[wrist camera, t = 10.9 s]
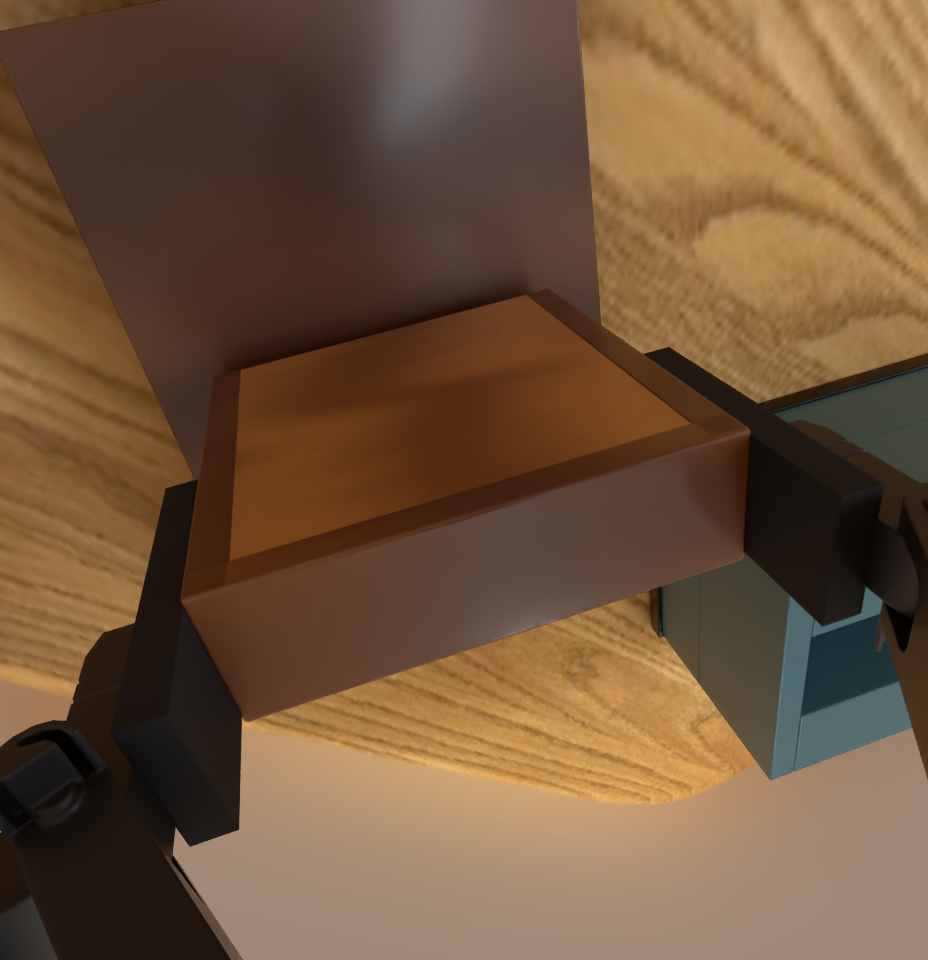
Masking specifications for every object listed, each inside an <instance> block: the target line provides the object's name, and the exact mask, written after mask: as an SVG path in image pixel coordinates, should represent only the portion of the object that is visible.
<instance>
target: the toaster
mask: <svg viewBox="0 0 928 960" xmlns="http://www.w3.org/2000/svg"><path fill="white" fill-rule="evenodd" d="M759 405H761V406H762V407H764V408H766V409H767V410H769V411H770V412H772V413H773V414H775V415H777V416H778V417H780V418H781V419H783V420H784V421H786V422H788V423H790V422H793V421H796V420H799V419H801V420H804V421H808V422H811V423H815V424H818V425H821V426H825V427H828V428H829V429H831V430H833V431H834V432H836V433H838V434H839V435H841V436H843V437H844V438H846V439H847V441H848V442H853V443H854V444H856V445H858V446H859V447H861V448H863V449H864V452H869V453H871V454H873V455H874V456H876V457H878V458H879V459H881V460H883V461H884V462H886V463H888V464H889V465H891V466H893V467H894V468H896V469H898V470H899V471H901V472H903V473H904V474H906V475H908V476H909V477H911V478H913V479H914V480H916V481H918V482H919V483H926V482H928V354H927V355H923V356H920V357H917V358H913V359H910V360H907V361H903V362H900V363H897V364H893V365H890V366H886V367H883V368H880V369H876V370H873V371H870V372H866V373H863V374H860V375H856V376H853V377H849V378H846V379H843V380H839V381H836V382H833V383H829V384H826V385H823V386H819V387H816V388H812V389H809V390H806V391H802V392H799V393H796V394H792V395H789V396H786V397H782V398H779V399H775V400H772V401H769V402H765V403H762V404H759ZM650 594H651V618H652V628H653V630H654V631H655V633H656V634H657V635H658V637H665V638H666V640H667V641H668V642H669V644H670V645H671V646H672V648H673V649H674V650H675V652H676V653H677V654H678V656H679V657H680V659H681V660H682V661H683V663H684V664H685V665H686V667H687V668H688V669H689V671H690V672H691V674H692V675H693V676H694V678H695V679H696V680H697V682H698V683H699V684H700V686H701V687H702V688H703V690H704V691H705V692H706V694H707V695H708V696H709V698H710V699H711V701H712V702H713V703H714V705H715V706H716V707H717V709H718V710H719V711H720V713H721V714H722V715H723V717H724V718H725V720H726V721H727V722H728V724H729V725H730V726H731V728H732V729H733V730H734V732H735V733H736V735H737V736H738V737H739V739H740V740H741V741H742V743H743V744H744V745H745V747H746V748H747V749H748V751H749V752H750V754H751V755H752V756H753V758H754V759H755V760H756V762H757V763H758V764H759V766H760V767H761V769H762V770H763V771H764V772H765V774H766V775H767V777H768V778H769V779H770V780H773V779H775V778H778V777H781V776H784V775H787V774H789V773H792V772H793V771H797V770H800V769H803V768H805V767H808V766H811V765H813V764H816V763H819V762H821V761H824V760H827V759H829V758H832V757H835V756H837V755H840V754H843V753H845V752H848V751H851V750H853V749H856V748H859V747H861V746H864V745H867V744H869V743H872V742H875V741H877V740H880V739H883V738H885V737H888V736H891V735H894V734H896V733H899V732H901V731H904V730H907V729H910V728H912V725H911V721H910V718H909V715H908V711H907V708H906V705H905V701H904V698H903V695H902V691H901V688H900V684H899V681H898V678H897V674H896V671H895V668H894V664H893V661H892V658H891V654H890V651H889V648H888V644H887V641H886V640H885V641H884V642H883V647H882V652H874V641H875V636H876V631H877V626H878V621H879V616H880V611H881V606H882V601H883V600H881V599H880V598H879V597H878V596H876V595H875V594H874V593H873V592H872V591H870V590H869V589H868V588H867V587H866V589H865V594H864V600H863V605H862V611H861V614H858V615H855V616H853V617H850V618H847V619H844V620H841V621H838V622H835V623H832V624H830V625H827V626H824V627H822V626H821V625H820V624H819V623H818V622H817V621H816V620H815V619H814V618H813V617H812V616H810V615H809V614H808V613H807V612H806V611H805V610H804V609H803V608H802V607H801V606H800V605H799V604H798V603H797V602H796V601H795V600H794V599H793V598H792V597H791V596H790V595H789V594H788V593H786V592H785V591H784V590H783V589H782V588H781V587H780V586H779V585H778V584H777V583H776V582H775V581H774V580H773V579H772V578H771V577H770V576H769V575H768V574H767V573H766V572H765V571H764V570H763V569H761V568H760V567H759V566H758V565H757V564H756V563H755V562H754V561H753V560H752V559H751V558H750V557H749V556H748V555H747V554H746V553H745V552H744V558H743V559H742V560H740V561H737V562H734V563H731V564H728V565H725V566H722V567H719V568H716V569H713V570H710V571H707V572H704V573H701V574H698V575H695V576H692V577H688V578H685V579H682V580H679V581H676V582H673V583H670V584H667V585H664V586H661V587H658V588H655V589H652V590H650Z"/></svg>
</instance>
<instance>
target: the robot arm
mask: <svg viewBox="0 0 928 960" xmlns="http://www.w3.org/2000/svg"><path fill="white" fill-rule="evenodd" d="M644 355H645V356H646V357H648V358H649V359H651V360H652V361H654V362H655V363H656V364H658V365H659V366H661V367H662V368H664V369H665V370H666V371H668V372H669V373H671V374H672V375H674V376H675V377H676V378H678V379H679V380H681V381H682V382H684V383H685V384H686V385H688V386H689V387H691V388H692V389H694V390H695V391H697V392H698V393H699V394H701V395H702V396H704V397H705V398H707V399H708V400H709V401H711V402H712V403H714V404H715V405H717V406H718V407H719V408H721V409H722V410H724V411H725V412H727V413H728V414H729V415H731V416H732V417H734V418H735V419H737V420H738V421H739V422H741V423H742V424H744V425H745V426H747V427H748V428H749V430H750V432H751V437H750V456H749V474H748V492H747V511H746V529H745V548H744V552H745V553H746V554H747V555H748V556H749V557H750V558H751V559H752V560H753V561H754V562H755V563H756V564H757V565H758V566H759V567H760V568H761V569H763V570H764V571H765V572H766V573H767V574H768V575H769V576H770V577H771V578H772V579H773V580H774V581H775V582H776V583H777V584H778V585H779V586H780V587H781V588H782V589H783V590H784V591H785V592H786V593H788V594H789V595H790V596H791V597H792V598H793V599H794V600H795V601H796V602H797V603H798V604H799V605H800V606H801V607H802V608H803V609H804V610H805V611H806V612H807V613H808V614H809V615H810V616H812V617H813V618H814V619H815V620H816V621H817V622H818V623H819V624H820V625H821V626H822V627H824V626H827V625H830V624H832V623H835V622H838V621H841V620H844V619H847V618H850V617H853V616H855V615H858V614H861V611H862V605H863V600H864V594H865V589H866V587H867V588H868V589H869V590H870V591H872V592H873V593H874V594H875V595H876V596H878V597H879V598H880V599H881V600H883V601H882V606H881V611H880V616H879V621H878V626H877V631H876V636H875V641H874V652H882V647H883V642H884V641H885V640H886V641H887V644H888V648H889V651H890V654H891V658H892V661H893V664H894V668H895V671H896V674H897V678H898V681H899V684H900V688H901V691H902V695H903V698H904V701H905V705H906V708H907V711H908V715H909V718H910V721H911V725H912V728H913V731H914V734H915V738H916V741H917V745H918V748H919V751H920V755H921V758H922V761H923V765H924V768H925V771H926V775H927V778H928V482H926V483H919V482H918V481H916V480H914V479H913V478H911V477H909V476H908V475H906V474H904V473H903V472H901V471H899V470H898V469H896V468H894V467H893V466H891V465H889V464H888V463H886V462H884V461H883V460H881V459H879V458H878V457H876V456H874V455H873V454H871V453H869V452H864V449H863V448H861V447H859V446H858V445H856V444H854V443H853V442H848V441H847V439H846V438H844V437H843V436H841V435H839V434H838V433H836V432H834V431H833V430H831V429H829V428H828V427H825V426H821V425H818V424H815V423H811V422H808V421H804V420H801V419H799V420H796V421H793V422H790V423H788V422H786V421H784V420H783V419H781V418H780V417H778V416H777V415H775V414H773V413H772V412H770V411H769V410H767V409H766V408H764V407H762V406H761V405H759V404H758V403H756V402H754V401H753V400H751V399H750V398H748V397H747V396H745V395H743V394H742V393H740V392H739V391H737V390H736V389H734V388H732V387H731V386H729V385H728V384H726V383H725V382H723V381H721V380H720V379H718V378H717V377H715V376H714V375H712V374H710V373H709V372H707V371H706V370H704V369H703V368H701V367H699V366H698V365H696V364H695V363H693V362H692V361H690V360H688V359H687V358H685V357H684V356H682V355H681V354H679V353H677V352H676V351H674V350H673V349H671V348H670V347H667V348H663V349H660V350H656V351H653V352H649V353H646V354H644ZM197 485H198V480H194V481H190V482H187V483H183V484H180V485H176V486H173V487H169V488H166V490H165V494H164V498H163V503H162V507H161V511H160V516H159V520H158V525H157V529H156V533H155V538H154V542H153V546H152V551H151V555H150V559H149V564H148V568H147V572H146V577H145V581H144V585H143V590H142V594H141V599H140V603H139V607H138V612H137V616H136V620H135V623H134V624H130V625H127V626H124V627H121V628H117V629H114V630H111V631H107V632H104V633H103V634H102V635H101V637H100V638H99V639H98V641H97V642H96V643H95V645H94V646H93V647H92V649H91V650H90V651H89V653H88V654H87V655H86V657H85V660H84V663H83V667H82V670H81V673H80V677H79V684H77V687H76V690H75V693H74V697H73V701H74V703H73V704H71V706H70V710H69V713H68V717H67V720H66V721H56V720H52V721H49V722H45V723H41V724H38V725H34V726H32V727H30V728H28V729H27V730H25V731H23V732H21V733H19V734H17V735H15V736H14V737H12V738H11V739H10V740H9V741H7V742H6V743H5V744H3V745H2V746H1V747H0V831H1V833H0V960H243V959H242V958H241V956H240V955H239V953H238V952H237V950H236V949H235V947H234V946H233V944H232V943H231V941H230V940H229V938H228V937H227V935H226V934H225V932H224V931H223V929H222V927H221V926H220V924H219V923H218V921H217V920H216V918H215V917H214V915H213V914H212V912H211V911H210V909H209V908H208V906H207V905H206V903H205V902H204V900H203V899H202V897H201V896H200V894H199V892H198V891H197V889H196V888H195V886H194V885H193V883H192V882H191V880H190V879H189V877H188V876H187V874H186V873H185V872H184V870H183V868H182V867H181V865H180V864H179V863H178V861H177V860H176V859H175V857H174V856H173V855H172V854H173V845H174V836H175V827H176V828H177V830H178V831H179V832H180V834H181V835H182V836H183V838H184V839H185V841H186V842H187V844H188V845H189V846H193V845H196V844H199V843H202V842H205V841H208V840H211V839H213V838H217V837H219V836H222V835H225V834H228V833H231V832H233V831H237V830H239V809H240V769H241V732H242V715H241V713H240V711H239V710H238V708H237V706H236V704H235V702H234V700H233V698H232V697H231V695H230V693H229V691H228V689H227V687H226V686H225V684H224V682H223V680H222V678H221V676H220V674H219V673H218V671H217V669H216V667H215V665H214V663H213V661H212V660H211V658H210V656H209V654H208V652H207V650H206V648H205V647H204V645H203V643H202V641H201V639H200V637H199V635H198V634H197V632H196V630H195V628H194V626H193V624H192V622H191V621H190V619H189V617H188V615H187V613H186V611H185V609H184V608H183V606H182V604H181V601H180V598H181V591H182V584H183V578H184V571H185V564H186V558H187V551H188V545H189V538H190V531H191V525H192V518H193V512H194V505H195V498H196V492H197Z"/></svg>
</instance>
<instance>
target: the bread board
mask: <svg viewBox="0 0 928 960" xmlns="http://www.w3.org/2000/svg"><path fill="white" fill-rule="evenodd" d="M0 61H1V63H2V65H3V67H4V70H5V72H6V74H7V76H8V78H9V80H10V83H11V85H12V87H13V89H14V91H15V93H16V95H17V98H18V100H19V102H20V104H21V106H22V108H23V111H24V113H25V115H26V117H27V119H28V121H29V123H30V126H31V128H32V130H33V132H34V134H35V136H36V139H37V141H38V143H39V145H40V147H41V149H42V151H43V154H44V156H45V158H46V160H47V162H48V164H49V167H50V169H51V171H52V173H53V175H54V177H55V179H56V182H57V184H58V186H59V188H60V190H61V192H62V195H63V197H64V199H65V201H66V203H67V205H68V207H69V210H70V212H71V214H72V216H73V218H74V220H75V223H76V225H77V227H78V229H79V231H80V233H81V235H82V238H83V240H84V242H85V244H86V246H87V248H88V251H89V253H90V255H91V257H92V259H93V261H94V263H95V266H96V268H97V270H98V272H99V274H100V276H101V279H102V281H103V283H104V285H105V287H106V289H107V292H108V294H109V296H110V298H111V300H112V302H113V304H114V307H115V309H116V311H117V313H118V315H119V317H120V320H121V322H122V324H123V326H124V328H125V330H126V332H127V335H128V337H129V339H130V341H131V343H132V345H133V348H134V350H135V352H136V354H137V356H138V358H139V360H140V363H141V365H142V367H143V369H144V371H145V373H146V376H147V378H148V380H149V382H150V384H151V386H152V388H153V391H154V393H155V395H156V397H157V399H158V401H159V404H160V406H161V408H162V410H163V412H164V414H165V416H166V419H167V421H168V423H169V425H170V427H171V429H172V432H173V434H174V436H175V438H176V440H177V442H178V444H179V447H180V449H181V451H182V453H183V455H184V457H185V460H186V462H187V464H188V466H189V468H190V470H191V472H192V475H193V477H194V479H195V480H198V479H199V472H200V465H201V459H202V452H203V445H204V439H205V432H206V426H207V419H208V412H209V406H210V399H211V393H212V386H213V379H214V377H215V376H217V375H221V374H225V373H229V372H233V371H236V370H242V369H246V368H250V367H254V366H258V365H261V364H265V363H269V362H273V361H277V360H280V359H284V358H288V357H292V356H296V355H299V354H303V353H307V352H311V351H315V350H318V349H322V348H326V347H330V346H334V345H337V344H341V343H345V342H349V341H353V340H356V339H360V338H364V337H368V336H372V335H375V334H379V333H383V332H387V331H391V330H394V329H398V328H402V327H406V326H410V325H413V324H417V323H421V322H425V321H429V320H432V319H436V318H440V317H444V316H447V315H451V314H455V313H459V312H463V311H466V310H470V309H474V308H478V307H482V306H485V305H489V304H493V303H497V302H501V301H504V300H508V299H512V298H516V297H520V296H523V295H527V294H530V293H534V292H538V291H541V290H545V289H550V290H552V291H553V292H555V293H556V294H558V295H559V296H560V297H562V298H563V299H565V300H566V301H568V302H569V303H570V304H572V305H573V306H575V307H576V308H578V309H579V310H580V311H582V312H583V313H585V314H586V315H588V316H589V317H591V318H592V319H593V320H595V321H596V322H598V323H599V324H601V316H600V302H599V288H598V274H597V260H596V247H595V233H594V219H593V205H592V191H591V178H590V164H589V150H588V136H587V122H586V109H585V95H584V81H583V67H582V53H581V40H580V26H579V12H578V0H159V1H154V2H148V3H143V4H138V5H133V6H128V7H122V8H117V9H112V10H107V11H102V12H96V13H91V14H86V15H81V16H76V17H71V18H65V19H60V20H55V21H50V22H45V23H39V24H34V25H29V26H24V27H19V28H14V29H8V30H3V31H0Z"/></svg>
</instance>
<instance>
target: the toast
mask: <svg viewBox="0 0 928 960" xmlns="http://www.w3.org/2000/svg"><path fill="white" fill-rule="evenodd" d="M750 437H751V432H750V430H749V428H748V427H747V426H745V425H744V424H742V423H741V422H739V421H738V420H737V419H735V418H734V417H732V416H731V415H729V414H728V413H727V412H725V411H724V410H722V409H721V408H719V407H718V406H717V405H715V404H714V403H712V402H711V401H709V400H708V399H707V398H705V397H704V396H702V395H701V394H699V393H698V392H697V391H695V390H694V389H692V388H691V387H689V386H688V385H686V384H685V383H684V382H682V381H681V380H679V379H678V378H676V377H675V376H674V375H672V374H671V373H669V372H668V371H666V370H665V369H664V368H662V367H661V366H659V365H658V364H656V363H655V362H654V361H652V360H651V359H649V358H648V357H646V356H645V355H644V354H642V353H641V352H639V351H638V350H636V349H635V348H633V347H632V346H631V345H629V344H628V343H626V342H625V341H623V340H622V339H621V338H619V337H618V336H616V335H615V334H613V333H612V332H611V331H609V330H608V329H606V328H605V327H603V326H602V325H601V324H599V323H598V322H596V321H595V320H593V319H592V318H591V317H589V316H588V315H586V314H585V313H583V312H582V311H580V310H579V309H578V308H576V307H575V306H573V305H572V304H570V303H569V302H568V301H566V300H565V299H563V298H562V297H560V296H559V295H558V294H556V293H555V292H553V291H552V290H550V289H545V290H541V291H538V292H534V293H530V294H527V295H523V296H520V297H516V298H512V299H508V300H504V301H501V302H497V303H493V304H489V305H485V306H482V307H478V308H474V309H470V310H466V311H463V312H459V313H455V314H451V315H447V316H444V317H440V318H436V319H432V320H429V321H425V322H421V323H417V324H413V325H410V326H406V327H402V328H398V329H394V330H391V331H387V332H383V333H379V334H375V335H372V336H368V337H364V338H360V339H356V340H353V341H349V342H345V343H341V344H337V345H334V346H330V347H326V348H322V349H318V350H315V351H311V352H307V353H303V354H299V355H296V356H292V357H288V358H284V359H280V360H277V361H273V362H269V363H265V364H261V365H258V366H254V367H250V368H246V369H242V370H236V371H233V372H229V373H225V374H221V375H217V376H215V377H214V379H213V386H212V393H211V399H210V406H209V412H208V419H207V426H206V432H205V439H204V445H203V452H202V459H201V465H200V472H199V479H198V485H197V492H196V498H195V505H194V512H193V518H192V525H191V531H190V538H189V545H188V551H187V558H186V564H185V571H184V578H183V584H182V591H181V598H180V601H181V604H182V606H183V608H184V609H185V611H186V613H187V615H188V617H189V619H190V621H191V622H192V624H193V626H194V628H195V630H196V632H197V634H198V635H199V637H200V639H201V641H202V643H203V645H204V647H205V648H206V650H207V652H208V654H209V656H210V658H211V660H212V661H213V663H214V665H215V667H216V669H217V671H218V673H219V674H220V676H221V678H222V680H223V682H224V684H225V686H226V687H227V689H228V691H229V693H230V695H231V697H232V698H233V700H234V702H235V704H236V706H237V708H238V710H239V711H240V713H241V715H242V717H243V719H244V721H246V722H250V721H253V720H256V719H259V718H262V717H265V716H268V715H271V714H274V713H277V712H280V711H283V710H286V709H290V708H293V707H296V706H299V705H302V704H305V703H308V702H311V701H314V700H317V699H320V698H323V697H326V696H329V695H332V694H335V693H338V692H341V691H344V690H347V689H350V688H353V687H357V686H360V685H363V684H366V683H369V682H372V681H375V680H378V679H381V678H384V677H387V676H390V675H393V674H396V673H399V672H402V671H405V670H408V669H411V668H414V667H417V666H420V665H424V664H427V663H430V662H433V661H436V660H439V659H442V658H445V657H448V656H451V655H454V654H457V653H460V652H463V651H466V650H469V649H472V648H475V647H478V646H481V645H484V644H487V643H491V642H494V641H497V640H500V639H503V638H506V637H509V636H512V635H515V634H518V633H521V632H524V631H527V630H530V629H533V628H536V627H539V626H542V625H545V624H548V623H551V622H554V621H558V620H561V619H564V618H567V617H570V616H573V615H576V614H579V613H582V612H585V611H588V610H591V609H594V608H597V607H600V606H603V605H606V604H609V603H612V602H615V601H618V600H621V599H625V598H628V597H631V596H634V595H637V594H640V593H643V592H646V591H649V590H652V589H655V588H658V587H661V586H664V585H667V584H670V583H673V582H676V581H679V580H682V579H685V578H688V577H692V576H695V575H698V574H701V573H704V572H707V571H710V570H713V569H716V568H719V567H722V566H725V565H728V564H731V563H734V562H737V561H740V560H742V559H743V558H744V548H745V529H746V511H747V492H748V474H749V456H750Z"/></svg>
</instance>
